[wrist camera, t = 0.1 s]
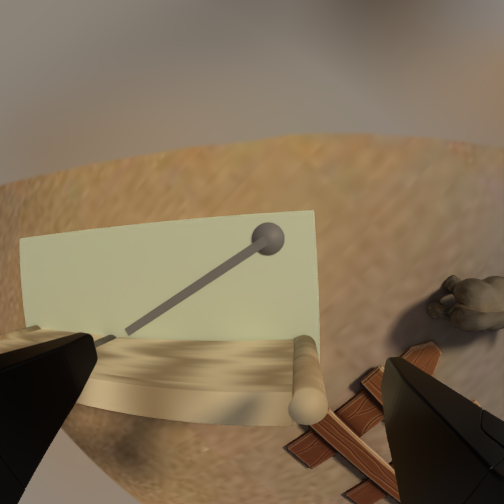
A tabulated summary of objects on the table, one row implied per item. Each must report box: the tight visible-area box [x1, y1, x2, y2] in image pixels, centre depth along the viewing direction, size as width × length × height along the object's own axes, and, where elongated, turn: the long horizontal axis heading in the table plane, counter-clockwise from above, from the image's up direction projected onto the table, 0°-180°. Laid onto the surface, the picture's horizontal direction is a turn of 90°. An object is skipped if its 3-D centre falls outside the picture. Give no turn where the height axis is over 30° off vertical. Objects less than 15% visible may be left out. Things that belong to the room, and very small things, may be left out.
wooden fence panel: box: [0, 325, 116, 354], centre depth 21 cm, size 12×2×11 cm, turn 93°
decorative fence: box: [287, 341, 480, 504], centre depth 22 cm, size 23×2×15 cm
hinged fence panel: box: [76, 335, 328, 426], centre depth 19 cm, size 16×2×10 cm, turn 93°
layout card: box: [20, 210, 320, 362], centre depth 25 cm, size 30×12×1 cm, turn 93°
